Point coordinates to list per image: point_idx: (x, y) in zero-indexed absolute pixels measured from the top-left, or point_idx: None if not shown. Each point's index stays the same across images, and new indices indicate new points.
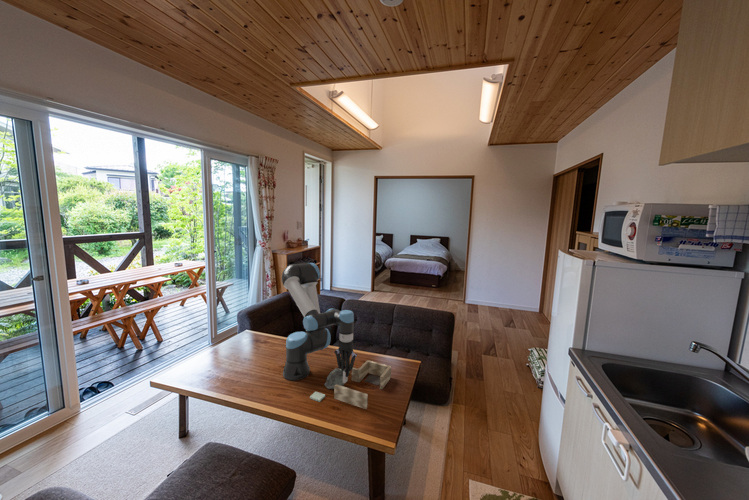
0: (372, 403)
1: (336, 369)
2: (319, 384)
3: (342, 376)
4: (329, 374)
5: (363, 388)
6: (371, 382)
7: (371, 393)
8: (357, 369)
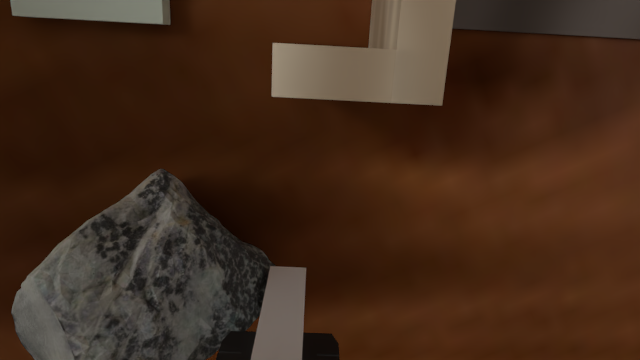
0: (632, 344)
1: (74, 349)
2: (11, 296)
3: None
4: (35, 356)
5: (484, 171)
6: (551, 21)
7: (593, 216)
8: (383, 74)
